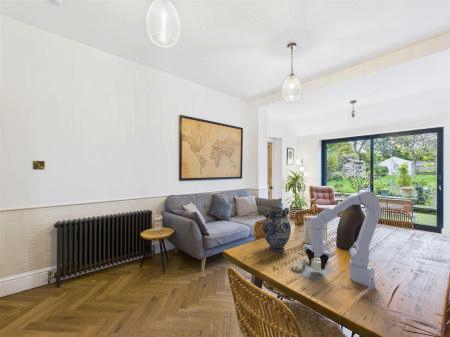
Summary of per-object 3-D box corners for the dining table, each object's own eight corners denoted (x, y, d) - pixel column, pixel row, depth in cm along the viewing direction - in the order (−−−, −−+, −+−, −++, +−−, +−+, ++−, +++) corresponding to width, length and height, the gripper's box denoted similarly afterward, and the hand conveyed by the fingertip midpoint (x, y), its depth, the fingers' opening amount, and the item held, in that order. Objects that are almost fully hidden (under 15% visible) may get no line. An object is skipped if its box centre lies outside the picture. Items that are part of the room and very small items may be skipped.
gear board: (334, 273, 106) (334, 261, 106) (314, 284, 96) (314, 271, 96) (306, 262, 119) (306, 251, 119) (286, 270, 109) (286, 259, 109)
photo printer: (329, 261, 119) (329, 240, 120) (323, 263, 118) (323, 241, 118) (314, 255, 129) (314, 235, 129) (309, 256, 127) (309, 236, 127)
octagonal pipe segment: (325, 268, 103) (325, 260, 103) (319, 271, 100) (319, 263, 100) (315, 264, 108) (315, 257, 108) (309, 267, 105) (309, 259, 105)
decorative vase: (272, 257, 125) (271, 211, 126) (255, 247, 142) (255, 206, 143) (298, 251, 134) (298, 208, 135) (280, 242, 151) (280, 204, 152)
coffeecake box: (324, 241, 153) (324, 215, 153) (327, 245, 146) (327, 217, 146) (303, 240, 156) (303, 214, 156) (305, 243, 149) (305, 216, 149)
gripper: (299, 237, 108) (300, 263, 108) (326, 246, 96) (327, 275, 96) (307, 235, 112) (307, 260, 112) (334, 242, 100) (334, 270, 100)
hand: (317, 266), depth 104 cm, fingers closed on octagonal pipe segment, 5 cm apart
